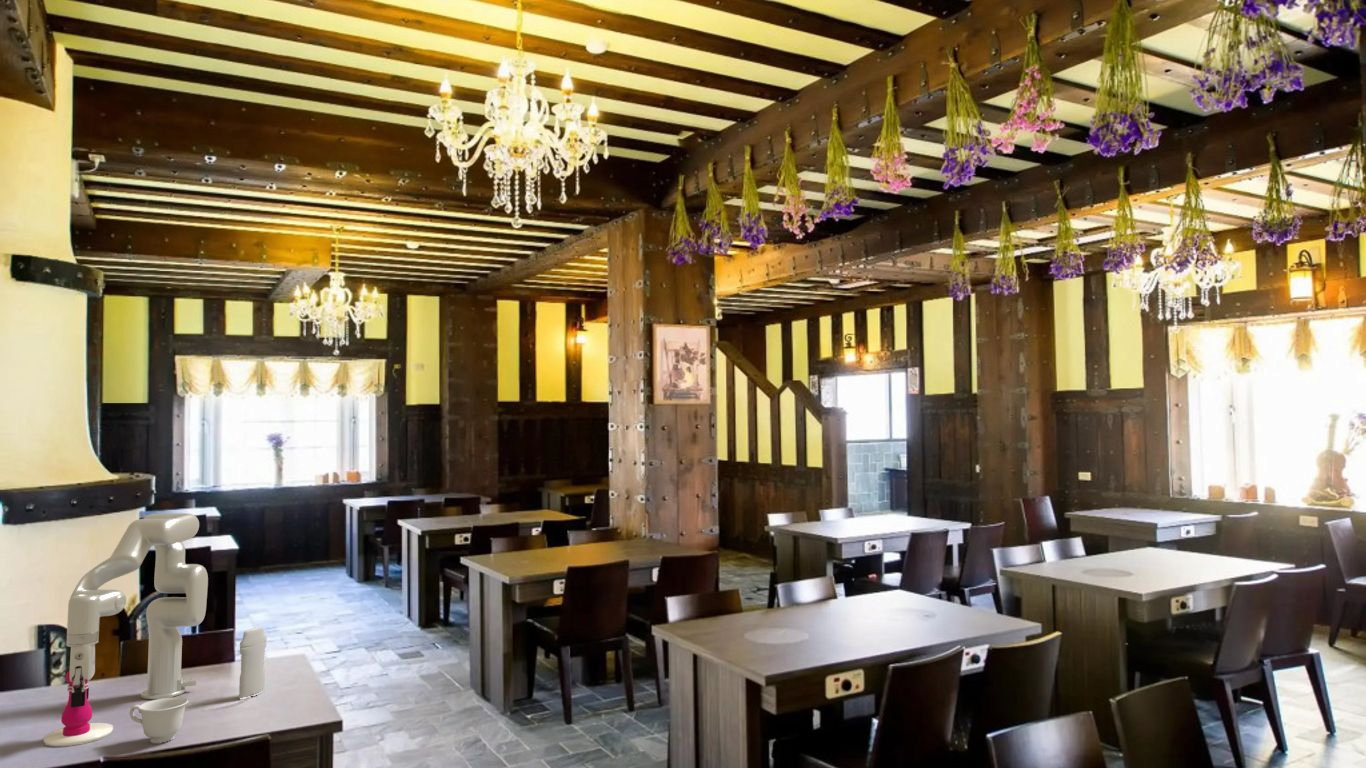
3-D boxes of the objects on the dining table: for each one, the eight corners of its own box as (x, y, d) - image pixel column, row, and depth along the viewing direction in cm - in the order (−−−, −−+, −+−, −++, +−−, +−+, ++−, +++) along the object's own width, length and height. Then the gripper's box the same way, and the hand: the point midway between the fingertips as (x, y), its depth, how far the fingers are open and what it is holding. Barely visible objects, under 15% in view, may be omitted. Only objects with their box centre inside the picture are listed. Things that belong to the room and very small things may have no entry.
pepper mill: (75, 737, 235) (78, 665, 236) (53, 736, 236) (56, 663, 238) (98, 729, 242) (100, 658, 243) (77, 727, 244) (80, 657, 245)
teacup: (141, 733, 242) (142, 698, 242) (195, 731, 243) (196, 696, 244) (116, 748, 230) (117, 711, 230) (173, 746, 231) (174, 709, 232)
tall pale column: (243, 701, 272) (245, 631, 273) (233, 699, 273) (235, 630, 275) (269, 691, 282) (271, 625, 283) (259, 690, 283) (261, 624, 285)
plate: (116, 723, 250) (116, 719, 250) (108, 740, 236) (108, 736, 236) (50, 732, 243) (50, 728, 243) (37, 750, 229) (38, 746, 229)
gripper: (93, 643, 235) (90, 709, 234) (102, 631, 251) (100, 694, 249) (61, 646, 232) (57, 714, 231) (72, 634, 247) (69, 697, 246)
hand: (79, 703), depth 240 cm, fingers closed on pepper mill, 5 cm apart
